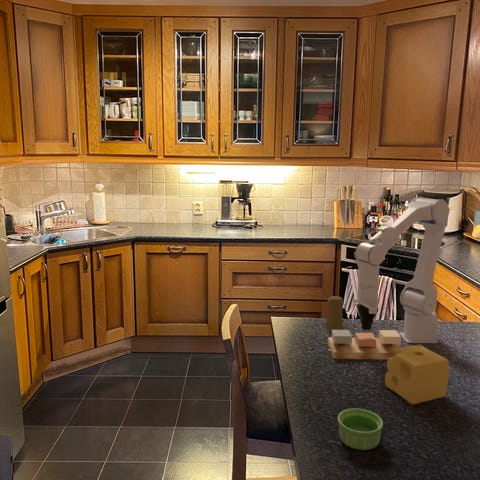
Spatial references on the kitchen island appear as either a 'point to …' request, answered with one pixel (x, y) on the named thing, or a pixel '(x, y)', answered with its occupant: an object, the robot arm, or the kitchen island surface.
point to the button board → (362, 350)
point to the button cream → (389, 337)
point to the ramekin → (360, 428)
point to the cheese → (417, 374)
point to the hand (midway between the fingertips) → (366, 329)
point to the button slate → (342, 336)
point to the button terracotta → (365, 339)
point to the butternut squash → (334, 314)
